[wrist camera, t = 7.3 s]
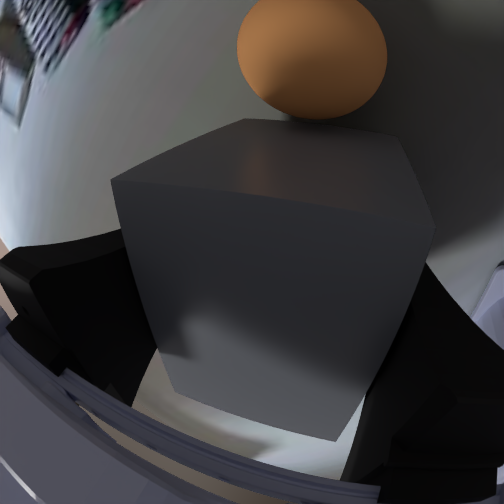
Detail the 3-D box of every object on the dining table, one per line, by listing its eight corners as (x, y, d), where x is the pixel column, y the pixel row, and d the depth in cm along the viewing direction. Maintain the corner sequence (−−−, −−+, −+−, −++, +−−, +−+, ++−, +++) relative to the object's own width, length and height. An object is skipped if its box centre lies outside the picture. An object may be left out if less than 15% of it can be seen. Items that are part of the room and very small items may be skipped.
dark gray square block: (397, 136, 10) (436, 228, 4) (362, 301, 14) (335, 441, 8) (244, 118, 11) (110, 179, 6) (247, 276, 16) (175, 391, 10)
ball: (384, 138, 10) (384, 29, 9) (390, 104, 6) (378, -44, 4) (263, 128, 12) (272, 28, 11) (199, 100, 8) (218, -30, 6)
